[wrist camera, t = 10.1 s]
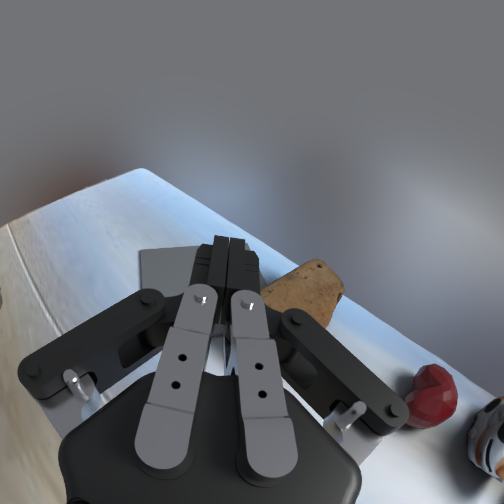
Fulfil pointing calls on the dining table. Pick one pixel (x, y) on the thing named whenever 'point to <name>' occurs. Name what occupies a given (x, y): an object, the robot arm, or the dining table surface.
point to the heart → (431, 397)
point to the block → (306, 291)
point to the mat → (173, 272)
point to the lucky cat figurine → (488, 439)
